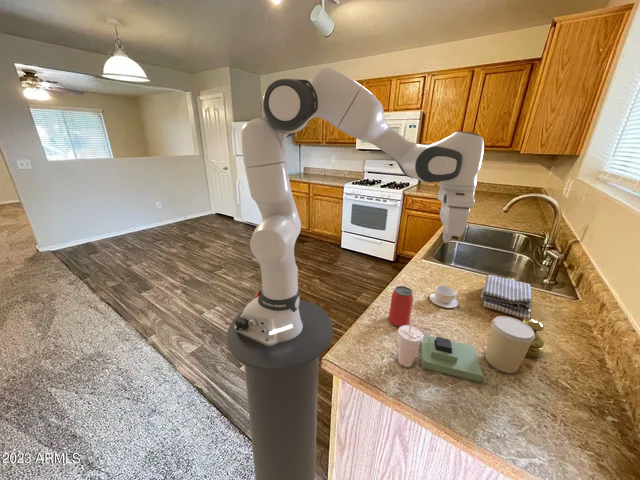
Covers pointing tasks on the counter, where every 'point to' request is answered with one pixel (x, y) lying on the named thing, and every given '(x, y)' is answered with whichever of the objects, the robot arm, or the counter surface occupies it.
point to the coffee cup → (508, 343)
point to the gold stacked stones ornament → (538, 341)
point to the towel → (507, 296)
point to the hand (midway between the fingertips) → (446, 240)
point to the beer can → (401, 306)
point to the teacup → (444, 297)
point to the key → (443, 344)
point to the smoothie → (408, 343)
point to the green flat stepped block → (451, 359)
